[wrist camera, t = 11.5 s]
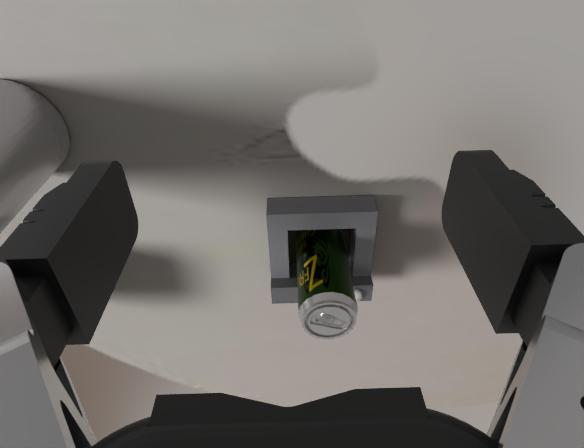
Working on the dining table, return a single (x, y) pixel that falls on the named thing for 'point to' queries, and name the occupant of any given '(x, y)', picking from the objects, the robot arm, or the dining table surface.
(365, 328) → the dining table surface
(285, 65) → the dining table surface
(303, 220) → the grey square frame
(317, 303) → the beer can
